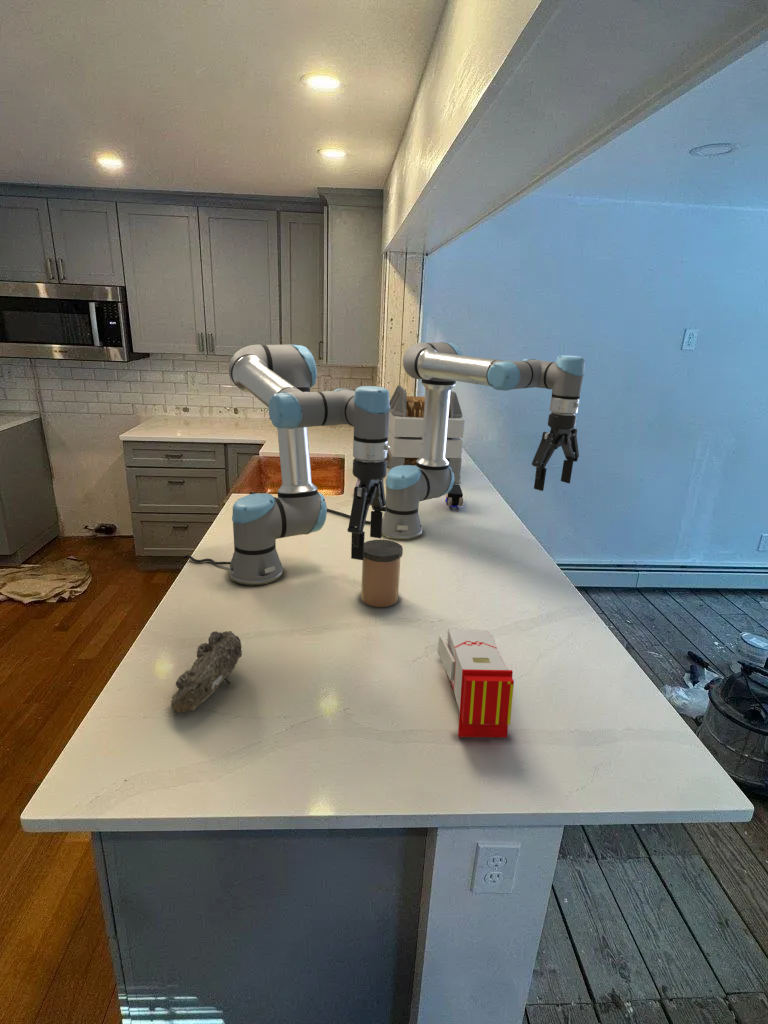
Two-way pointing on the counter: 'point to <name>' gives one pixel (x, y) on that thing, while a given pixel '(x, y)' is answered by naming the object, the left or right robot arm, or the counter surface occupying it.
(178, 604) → the counter surface
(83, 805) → the counter surface
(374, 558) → the lid
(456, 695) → the toy
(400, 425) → the white crate
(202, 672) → the fossil
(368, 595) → the jar
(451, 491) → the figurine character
